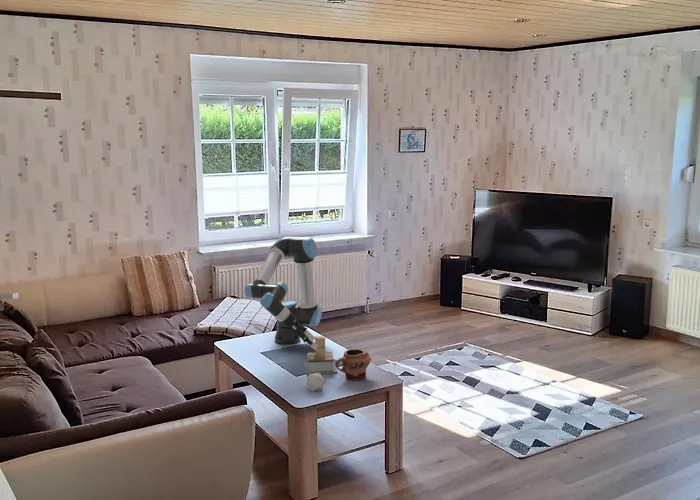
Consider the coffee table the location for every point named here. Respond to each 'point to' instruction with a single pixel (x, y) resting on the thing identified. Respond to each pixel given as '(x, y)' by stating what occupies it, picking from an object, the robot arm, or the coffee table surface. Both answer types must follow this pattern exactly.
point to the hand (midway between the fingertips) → (315, 343)
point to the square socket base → (320, 368)
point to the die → (315, 381)
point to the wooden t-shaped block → (320, 352)
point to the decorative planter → (354, 364)
